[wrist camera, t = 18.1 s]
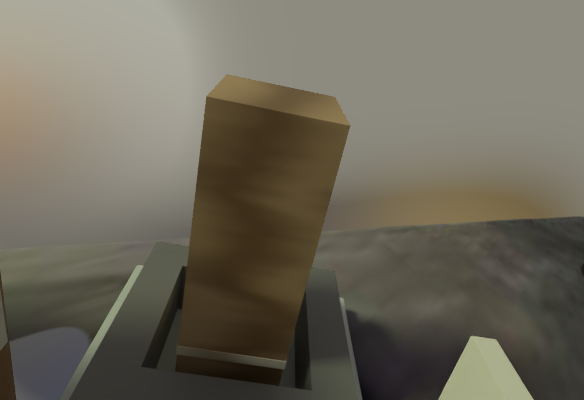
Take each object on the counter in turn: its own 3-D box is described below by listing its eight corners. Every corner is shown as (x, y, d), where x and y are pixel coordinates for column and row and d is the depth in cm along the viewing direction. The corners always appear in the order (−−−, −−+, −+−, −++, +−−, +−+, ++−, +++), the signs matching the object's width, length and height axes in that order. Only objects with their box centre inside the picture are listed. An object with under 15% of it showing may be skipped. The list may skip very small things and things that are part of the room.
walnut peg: (275, 338, 30) (335, 97, 22) (272, 412, 24) (351, 126, 17) (192, 325, 29) (226, 74, 22) (170, 399, 24) (205, 96, 16)
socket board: (338, 311, 36) (355, 261, 34) (379, 555, 20) (416, 491, 18) (136, 279, 35) (139, 224, 32) (3, 517, 18) (-10, 441, 16)
